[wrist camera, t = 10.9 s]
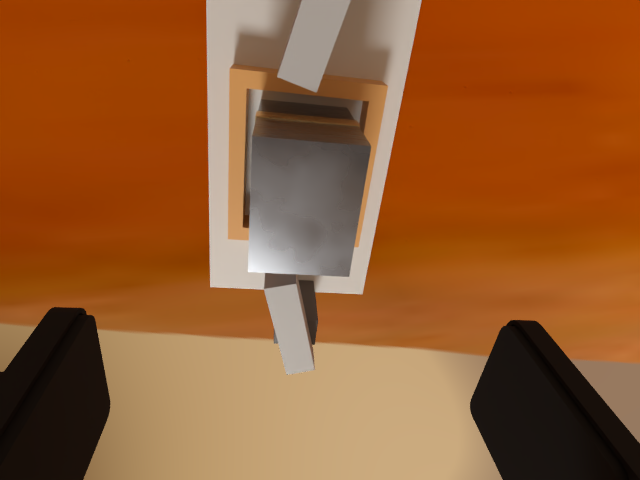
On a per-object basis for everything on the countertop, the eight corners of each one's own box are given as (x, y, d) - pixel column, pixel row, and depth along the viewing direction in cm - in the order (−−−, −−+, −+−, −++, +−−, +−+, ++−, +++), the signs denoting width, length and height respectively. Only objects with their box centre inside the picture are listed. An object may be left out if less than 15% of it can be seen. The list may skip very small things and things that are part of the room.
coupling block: (255, 206, 24) (246, 272, 18) (259, 97, 21) (250, 134, 15) (333, 211, 25) (350, 277, 19) (348, 106, 22) (373, 145, 16)
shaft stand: (355, 303, 30) (373, 376, 24) (213, 296, 29) (195, 372, 23) (426, -59, 20) (487, -87, 14) (209, -93, 18) (174, -140, 13)
